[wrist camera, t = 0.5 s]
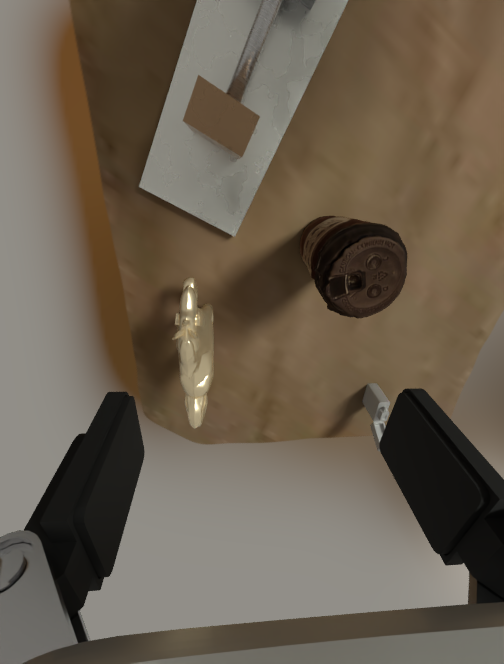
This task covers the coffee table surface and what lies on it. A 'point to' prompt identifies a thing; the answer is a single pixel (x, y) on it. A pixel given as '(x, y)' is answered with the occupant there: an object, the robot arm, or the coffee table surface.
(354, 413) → the coffee table surface
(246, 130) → the brown block with rod
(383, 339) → the coffee table surface
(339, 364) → the coffee table surface
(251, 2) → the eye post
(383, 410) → the lighter
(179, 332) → the cream horse figurine
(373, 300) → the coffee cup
